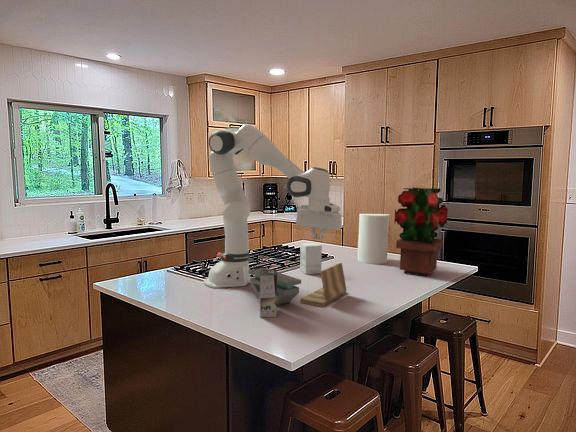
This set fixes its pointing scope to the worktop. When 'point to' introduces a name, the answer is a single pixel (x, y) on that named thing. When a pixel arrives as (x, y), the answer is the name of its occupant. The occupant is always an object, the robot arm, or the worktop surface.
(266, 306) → the coffee box
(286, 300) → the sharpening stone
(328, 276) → the plank
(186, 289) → the worktop surface
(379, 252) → the cylinder
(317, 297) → the light brown rectangular block
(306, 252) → the supplement box
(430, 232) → the potted plant
